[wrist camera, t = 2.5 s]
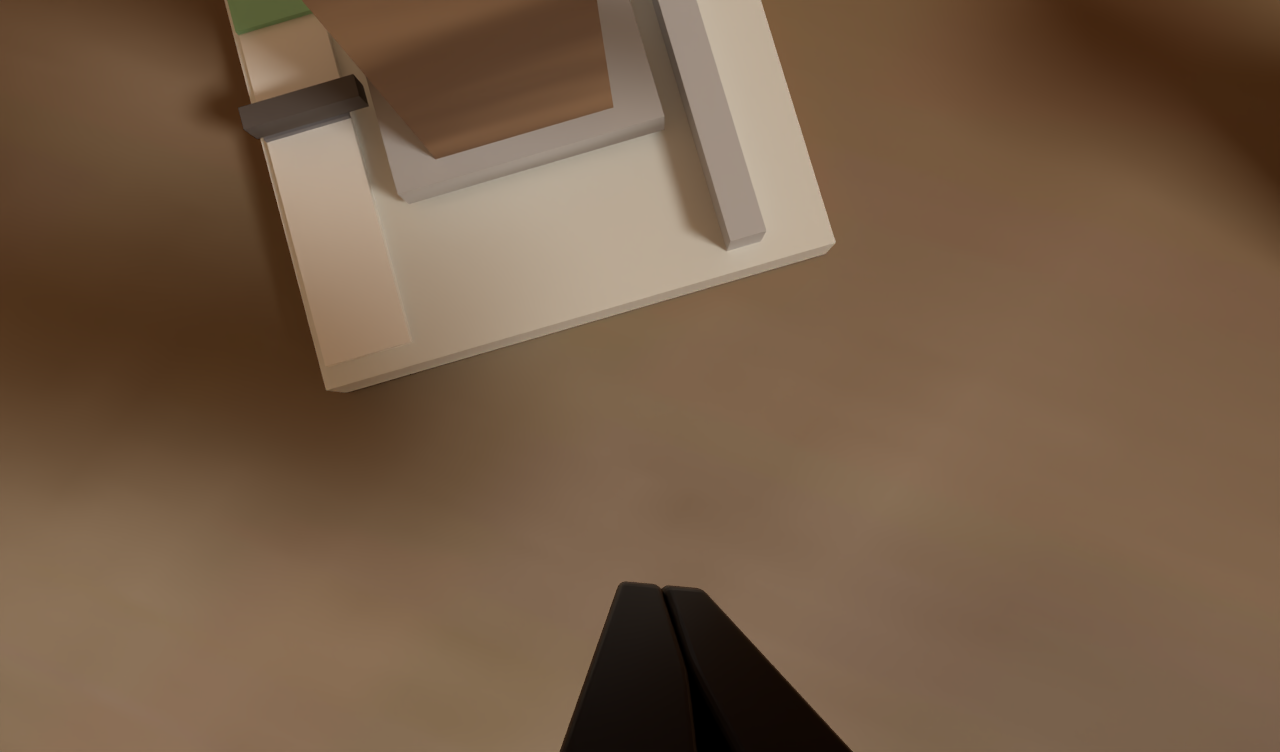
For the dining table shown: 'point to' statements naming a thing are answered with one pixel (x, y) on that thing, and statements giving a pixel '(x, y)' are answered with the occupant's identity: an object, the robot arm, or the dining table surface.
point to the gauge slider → (479, 85)
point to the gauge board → (534, 200)
